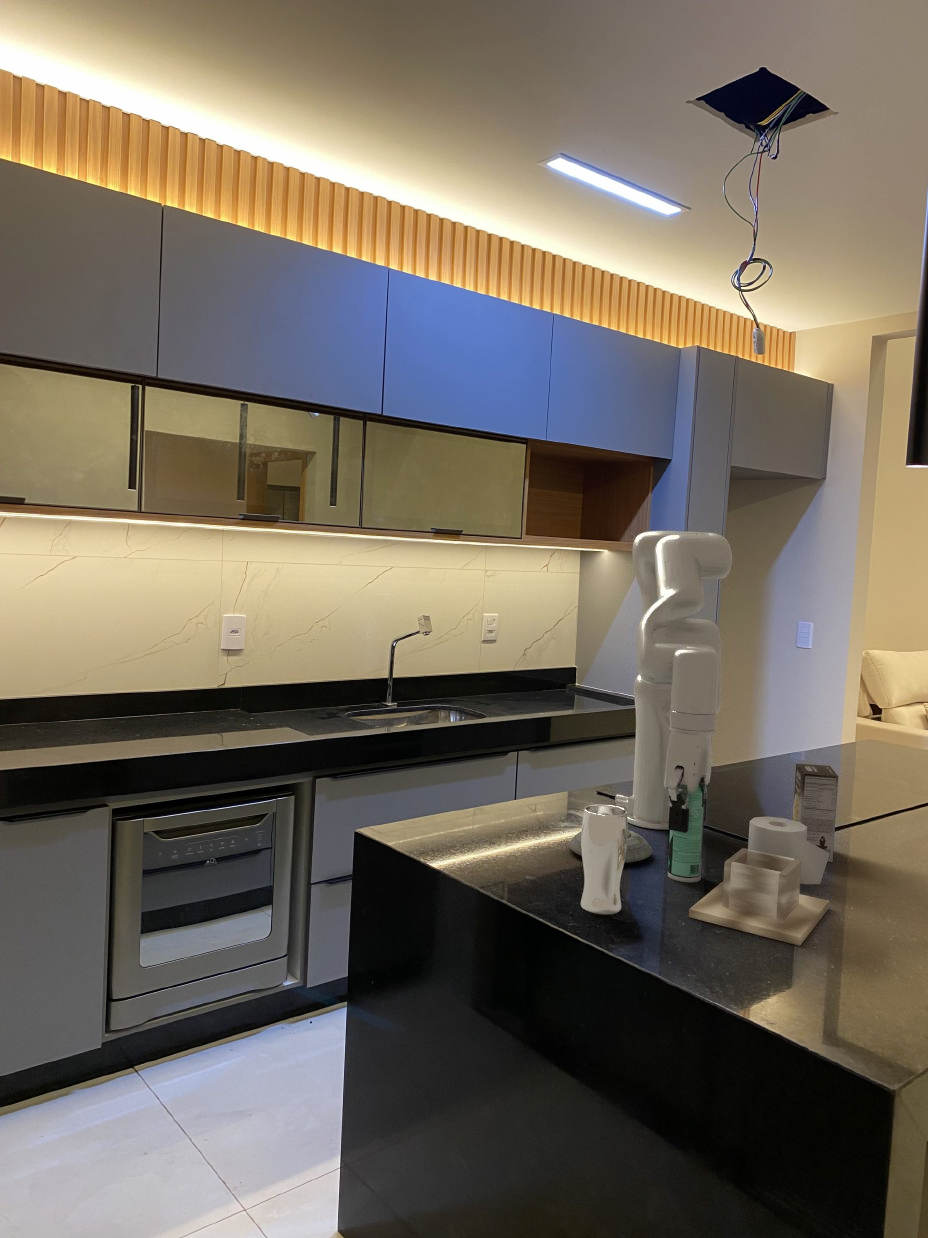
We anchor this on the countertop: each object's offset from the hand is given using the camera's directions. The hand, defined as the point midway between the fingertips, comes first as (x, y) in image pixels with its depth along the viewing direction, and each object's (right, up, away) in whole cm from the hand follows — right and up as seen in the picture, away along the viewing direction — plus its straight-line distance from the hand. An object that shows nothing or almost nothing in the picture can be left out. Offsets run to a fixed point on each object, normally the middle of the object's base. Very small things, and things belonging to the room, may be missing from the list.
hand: (687, 825), depth 151 cm
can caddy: (+8, -10, -15) cm, 19 cm away
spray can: (0, -9, 0) cm, 9 cm away
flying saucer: (-11, -8, +11) cm, 18 cm away
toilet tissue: (+18, -10, +4) cm, 20 cm away
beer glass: (-17, -9, -15) cm, 24 cm away
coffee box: (+27, -9, +17) cm, 33 cm away
